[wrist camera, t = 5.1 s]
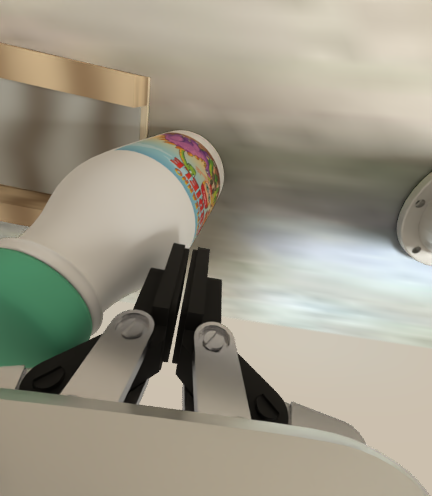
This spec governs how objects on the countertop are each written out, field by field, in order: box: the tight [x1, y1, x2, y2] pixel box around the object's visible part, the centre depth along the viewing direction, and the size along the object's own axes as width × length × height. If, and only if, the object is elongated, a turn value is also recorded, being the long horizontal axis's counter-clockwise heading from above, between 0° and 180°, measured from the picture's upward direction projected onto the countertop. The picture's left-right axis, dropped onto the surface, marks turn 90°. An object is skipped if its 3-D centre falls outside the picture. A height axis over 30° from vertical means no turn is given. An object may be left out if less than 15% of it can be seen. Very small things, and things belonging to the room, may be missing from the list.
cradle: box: [0, 43, 150, 227], centre depth 22 cm, size 20×14×4 cm
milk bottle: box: [0, 130, 224, 368], centre depth 16 cm, size 8×8×20 cm
